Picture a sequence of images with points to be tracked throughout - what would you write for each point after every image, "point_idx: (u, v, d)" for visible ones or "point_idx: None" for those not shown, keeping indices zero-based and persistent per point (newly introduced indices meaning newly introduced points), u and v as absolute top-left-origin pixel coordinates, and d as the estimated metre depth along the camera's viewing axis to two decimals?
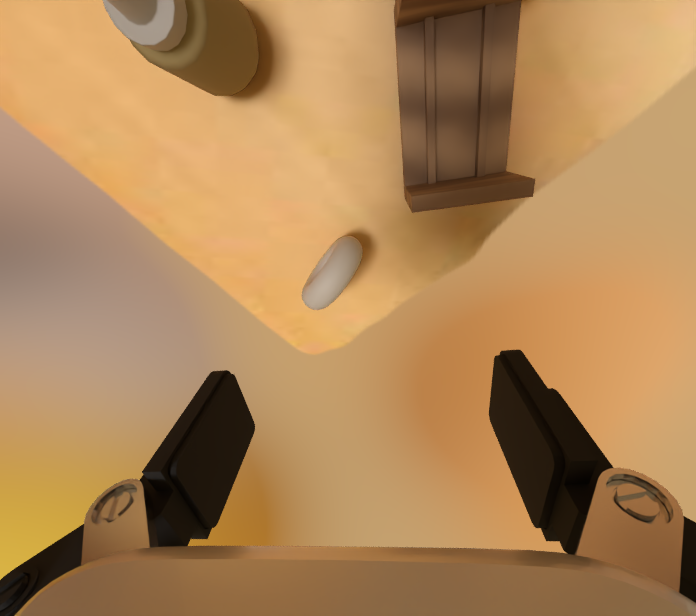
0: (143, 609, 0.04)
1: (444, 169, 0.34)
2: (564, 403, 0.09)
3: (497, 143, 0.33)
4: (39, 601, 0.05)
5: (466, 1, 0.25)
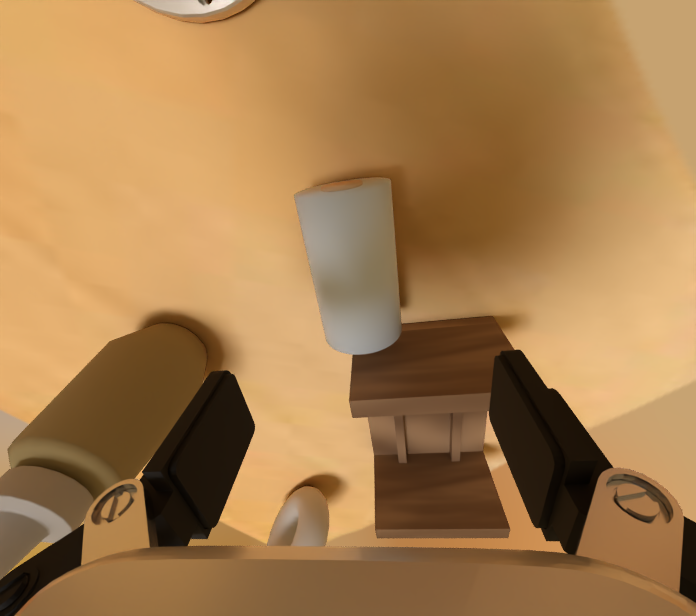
0: (143, 609, 0.04)
1: (416, 446, 0.31)
2: (564, 403, 0.09)
3: (473, 432, 0.30)
4: (39, 601, 0.05)
5: None
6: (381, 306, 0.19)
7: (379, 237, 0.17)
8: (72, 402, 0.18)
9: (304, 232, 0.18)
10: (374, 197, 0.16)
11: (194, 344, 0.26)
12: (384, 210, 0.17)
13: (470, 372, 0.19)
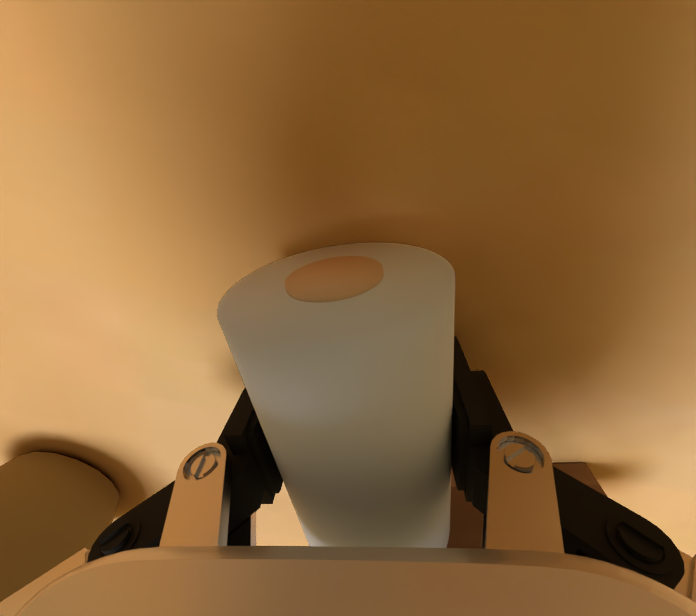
0: (143, 609, 0.04)
1: None
2: (488, 382, 0.10)
3: None
4: (39, 601, 0.05)
5: None
6: (434, 517, 0.09)
7: (440, 402, 0.07)
8: None
9: (251, 397, 0.07)
10: (438, 324, 0.06)
11: (86, 491, 0.16)
12: (450, 342, 0.07)
13: None
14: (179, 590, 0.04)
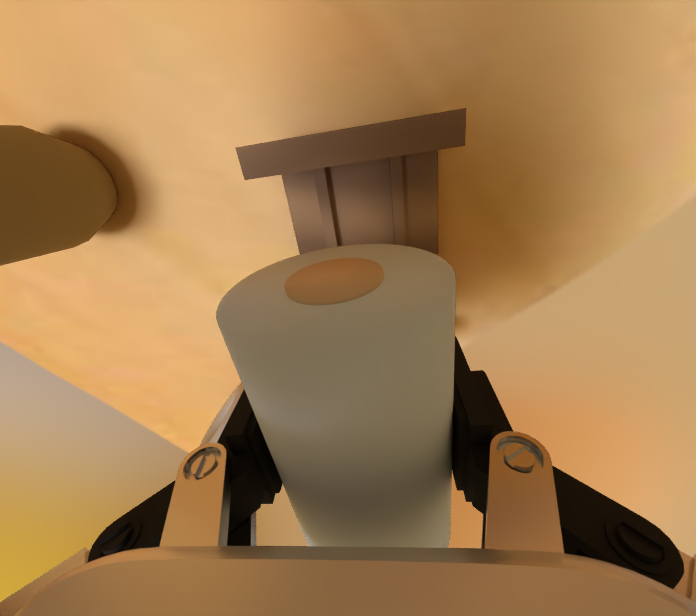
0: (143, 609, 0.04)
1: None
2: (488, 382, 0.10)
3: None
4: (39, 601, 0.05)
5: None
6: (434, 521, 0.09)
7: (441, 405, 0.07)
8: None
9: (250, 400, 0.07)
10: (439, 327, 0.06)
11: (93, 162, 0.22)
12: (451, 345, 0.07)
13: None
14: (179, 590, 0.04)
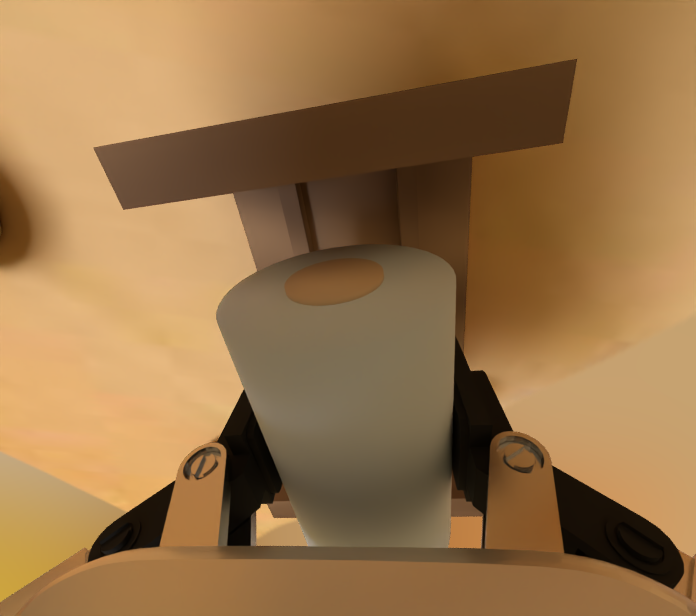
0: (143, 609, 0.04)
1: None
2: (488, 382, 0.10)
3: None
4: (39, 601, 0.05)
5: None
6: (434, 521, 0.09)
7: (441, 406, 0.07)
8: None
9: (251, 401, 0.07)
10: (439, 328, 0.06)
11: None
12: (451, 346, 0.07)
13: None
14: (179, 590, 0.04)
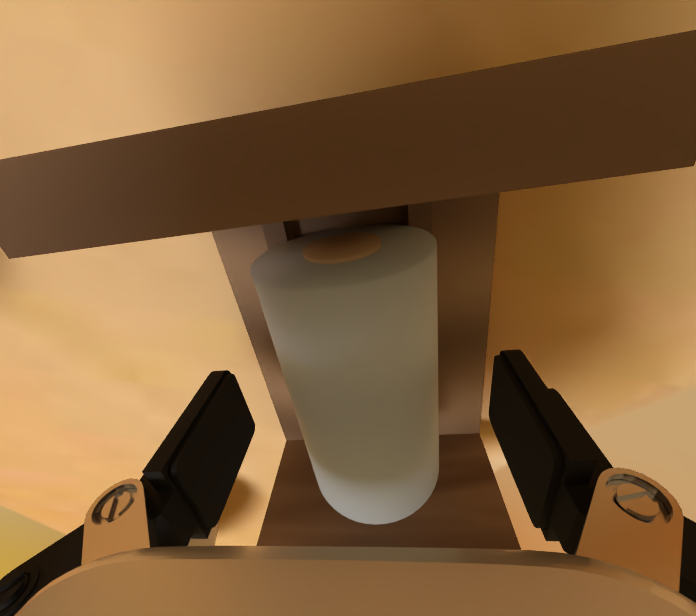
0: (143, 609, 0.04)
1: None
2: (564, 403, 0.09)
3: (460, 395, 0.16)
4: (39, 601, 0.05)
5: None
6: (423, 448, 0.11)
7: (426, 343, 0.09)
8: None
9: (277, 341, 0.09)
10: (423, 276, 0.08)
11: None
12: (433, 295, 0.09)
13: None
14: (179, 590, 0.04)
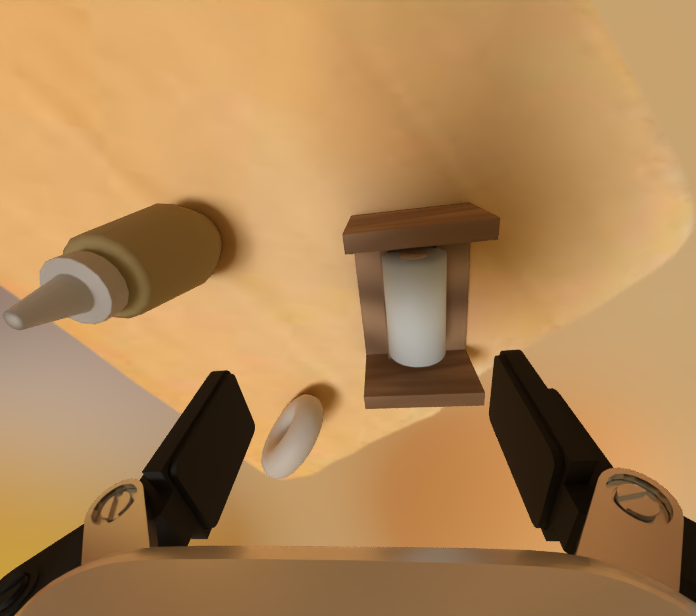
0: (143, 609, 0.04)
1: None
2: (564, 403, 0.09)
3: (456, 327, 0.33)
4: (39, 601, 0.05)
5: None
6: (440, 331, 0.28)
7: (442, 287, 0.26)
8: (116, 223, 0.22)
9: (392, 285, 0.27)
10: (442, 264, 0.25)
11: (212, 226, 0.30)
12: (445, 271, 0.26)
13: (444, 218, 0.23)
14: (179, 590, 0.04)
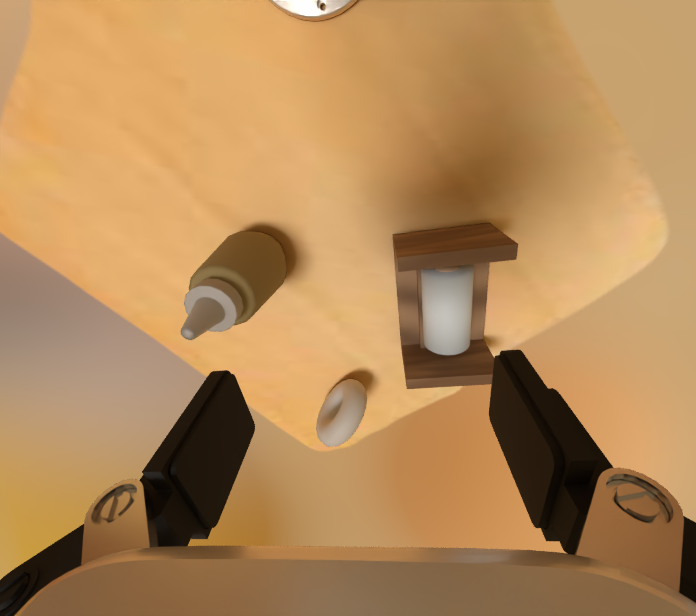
0: (143, 609, 0.04)
1: None
2: (564, 403, 0.09)
3: (476, 321, 0.40)
4: (39, 601, 0.05)
5: None
6: (467, 327, 0.35)
7: (470, 293, 0.34)
8: (225, 254, 0.29)
9: (431, 292, 0.34)
10: (471, 275, 0.33)
11: (280, 245, 0.37)
12: (472, 280, 0.33)
13: (474, 242, 0.30)
14: (179, 590, 0.04)
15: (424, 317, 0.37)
